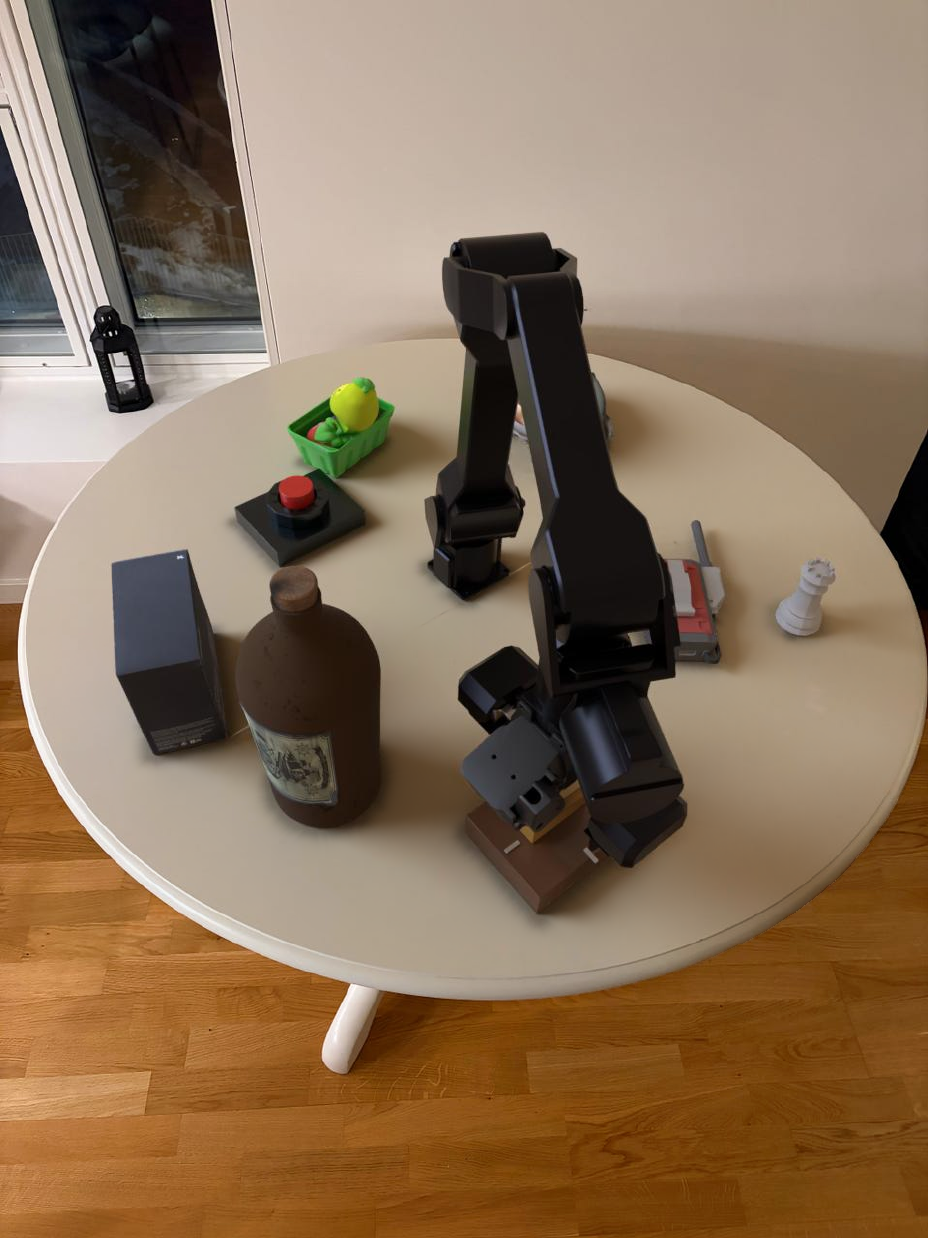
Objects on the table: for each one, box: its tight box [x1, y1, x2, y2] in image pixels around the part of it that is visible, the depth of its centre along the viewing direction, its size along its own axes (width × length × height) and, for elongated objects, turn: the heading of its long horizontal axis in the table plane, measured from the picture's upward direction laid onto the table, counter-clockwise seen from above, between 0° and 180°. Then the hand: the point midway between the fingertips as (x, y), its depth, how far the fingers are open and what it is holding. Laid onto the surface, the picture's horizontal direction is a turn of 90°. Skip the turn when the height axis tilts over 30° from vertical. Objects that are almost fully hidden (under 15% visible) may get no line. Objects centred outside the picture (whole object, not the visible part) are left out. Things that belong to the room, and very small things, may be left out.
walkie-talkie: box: [643, 519, 726, 666], centre depth 92 cm, size 9×4×20 cm
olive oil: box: [235, 565, 382, 828], centre depth 69 cm, size 11×11×25 cm
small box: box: [110, 548, 229, 756], centre depth 80 cm, size 13×7×12 cm, turn 16°
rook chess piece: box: [775, 557, 837, 637], centre depth 89 cm, size 4×4×8 cm
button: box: [279, 474, 315, 509], centre depth 96 cm, size 4×4×2 cm
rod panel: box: [464, 801, 609, 915], centre depth 74 cm, size 11×10×3 cm
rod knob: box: [520, 779, 586, 843], centre depth 71 cm, size 6×2×4 cm, turn 129°
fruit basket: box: [286, 376, 396, 479], centre depth 104 cm, size 11×9×11 cm
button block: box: [233, 468, 366, 568], centre depth 98 cm, size 11×9×4 cm
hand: (554, 805), depth 72 cm, fingers open, 9 cm apart
